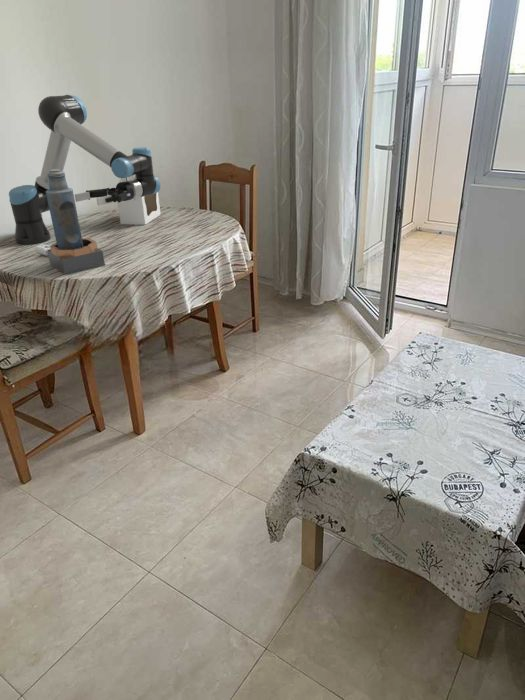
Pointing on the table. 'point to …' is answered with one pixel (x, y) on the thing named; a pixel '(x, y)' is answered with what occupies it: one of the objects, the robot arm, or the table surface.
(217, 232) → the table surface
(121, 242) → the table surface
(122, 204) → the gable box
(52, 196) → the bottle
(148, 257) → the table surface
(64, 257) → the copper and grey block
